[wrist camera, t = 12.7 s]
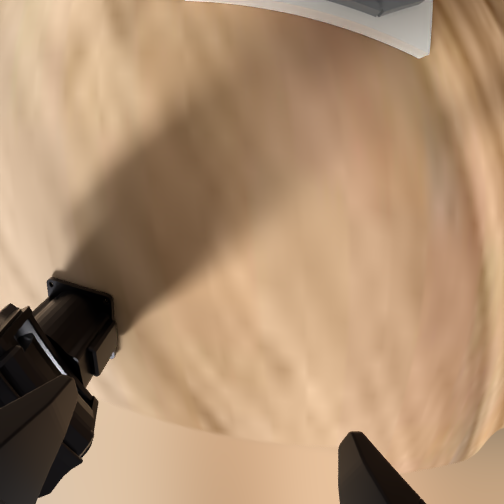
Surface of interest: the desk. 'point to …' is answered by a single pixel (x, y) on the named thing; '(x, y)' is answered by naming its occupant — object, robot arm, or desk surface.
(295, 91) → the desk surface
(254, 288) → the desk surface
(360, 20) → the white square ring base
